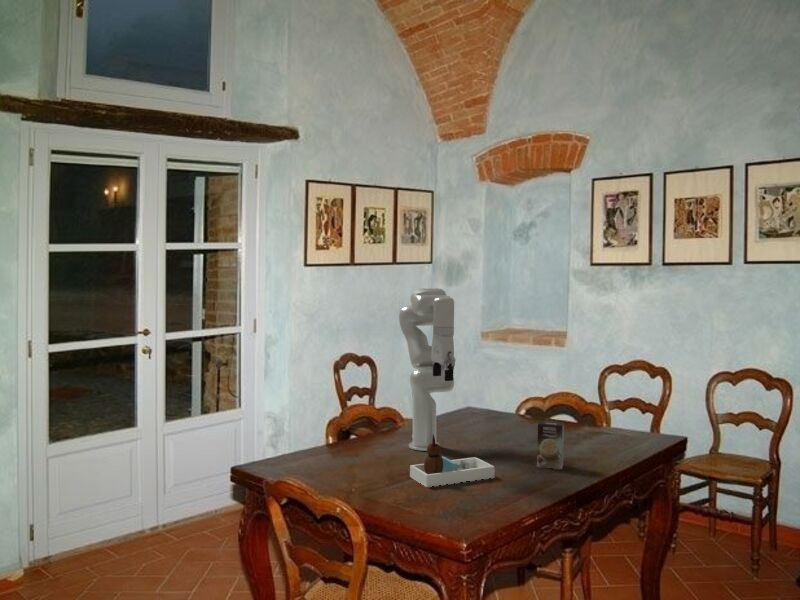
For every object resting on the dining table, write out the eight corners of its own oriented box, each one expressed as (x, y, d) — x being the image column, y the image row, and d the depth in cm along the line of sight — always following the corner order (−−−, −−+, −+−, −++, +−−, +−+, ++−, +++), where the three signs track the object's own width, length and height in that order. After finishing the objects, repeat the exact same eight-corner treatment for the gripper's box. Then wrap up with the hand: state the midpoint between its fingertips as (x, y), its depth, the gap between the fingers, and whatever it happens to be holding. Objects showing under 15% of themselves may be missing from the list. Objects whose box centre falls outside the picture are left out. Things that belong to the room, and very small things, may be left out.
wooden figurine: (436, 480, 235) (436, 436, 234) (421, 477, 238) (421, 434, 237) (446, 475, 240) (446, 432, 240) (431, 473, 243) (431, 430, 243)
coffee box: (536, 467, 254) (536, 423, 253) (538, 462, 260) (539, 419, 259) (562, 470, 251) (562, 425, 250) (563, 465, 257) (564, 421, 256)
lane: (410, 476, 242) (410, 465, 242) (475, 468, 253) (475, 457, 253) (426, 487, 231) (426, 475, 230) (494, 478, 241) (494, 466, 241)
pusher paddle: (440, 470, 245) (440, 456, 245) (458, 467, 248) (459, 454, 248) (453, 478, 236) (453, 463, 236) (473, 475, 239) (473, 461, 239)
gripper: (424, 329, 260) (423, 374, 261) (444, 334, 244) (444, 383, 245) (442, 328, 262) (441, 373, 264) (464, 333, 247) (463, 381, 248)
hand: (442, 378), depth 254 cm, fingers open, 9 cm apart
